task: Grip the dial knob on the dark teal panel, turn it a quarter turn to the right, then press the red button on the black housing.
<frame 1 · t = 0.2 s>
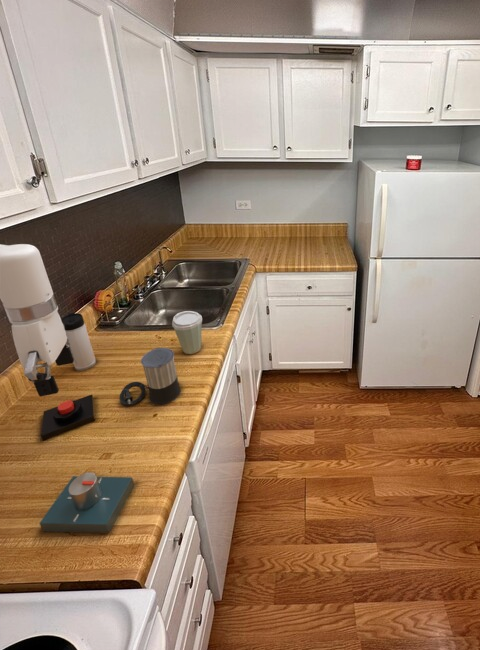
hand: (58, 377, 71), 29 cm above the counter, tool pointing down, fingers open, 9 cm apart
dial panel: (91, 507, 74), on the counter
dial knob: (85, 490, 72), point 6 cm above the counter, hinge at 0.0°
disposable coffee cup: (192, 350, 127), on the counter
milk frother: (152, 397, 105), on the counter
button: (66, 407, 95), point 4 cm above the counter, slide at 0.1 cm
travel mug: (86, 365, 119), on the counter
button box: (70, 419, 96), on the counter
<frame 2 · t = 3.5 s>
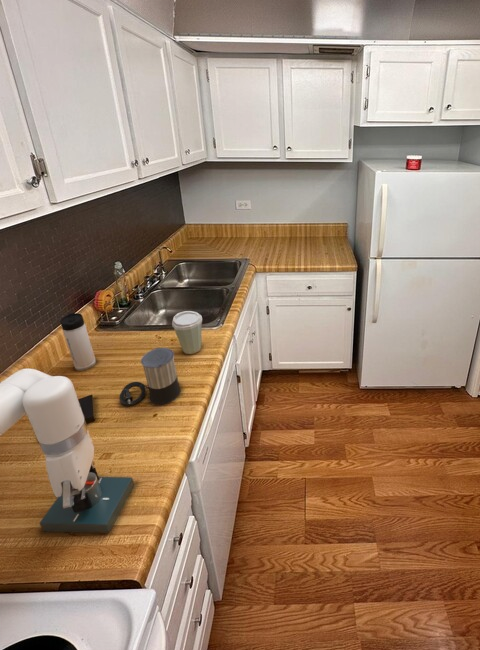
hand: (87, 495, 72), 4 cm above the counter, tool pointing down, fingers closed on dial knob, 5 cm apart
dial knob: (85, 490, 72), point 6 cm above the counter, hinge at -0.1°, touching gripper
everything else where it was.
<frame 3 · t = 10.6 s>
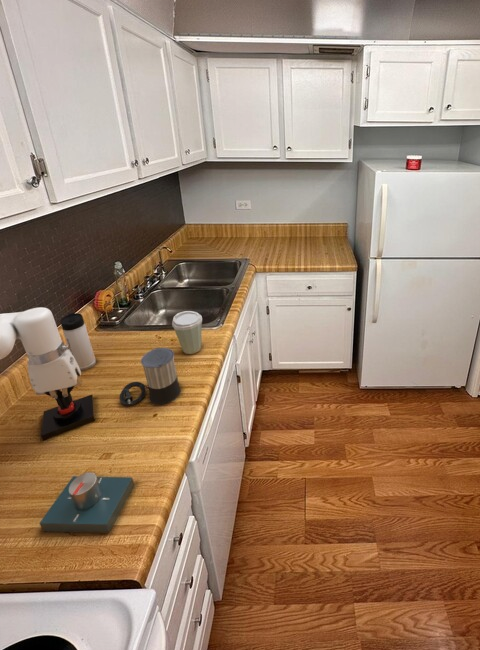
hand: (66, 405, 95), 5 cm above the counter, tool pointing down, fingers closed
dial knob: (85, 490, 72), point 6 cm above the counter, hinge at -92.4°
button: (66, 408, 95), point 4 cm above the counter, slide at -0.1 cm, touching gripper
everything else where it was.
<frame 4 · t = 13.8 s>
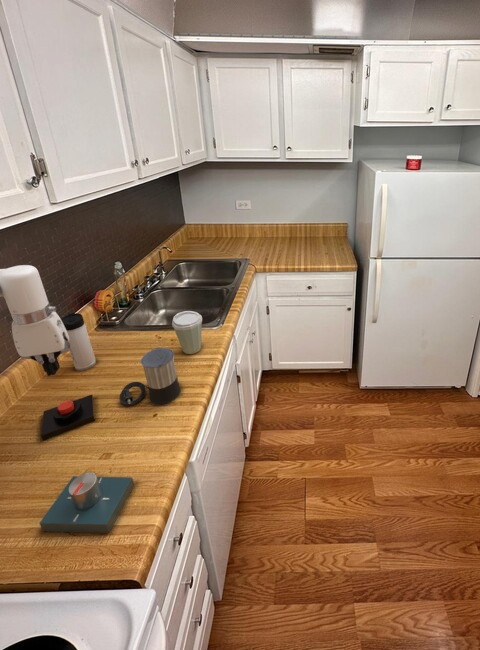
hand: (53, 372, 90), 17 cm above the counter, tool pointing down, fingers closed
button: (66, 407, 95), point 4 cm above the counter, slide at 0.1 cm
everything else where it was.
at the end: dial knob at -92° (first picture: +0°); button pushed in 1.1 cm at the most during the clip, back to where it started at the end; button slide at 0.1 cm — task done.
